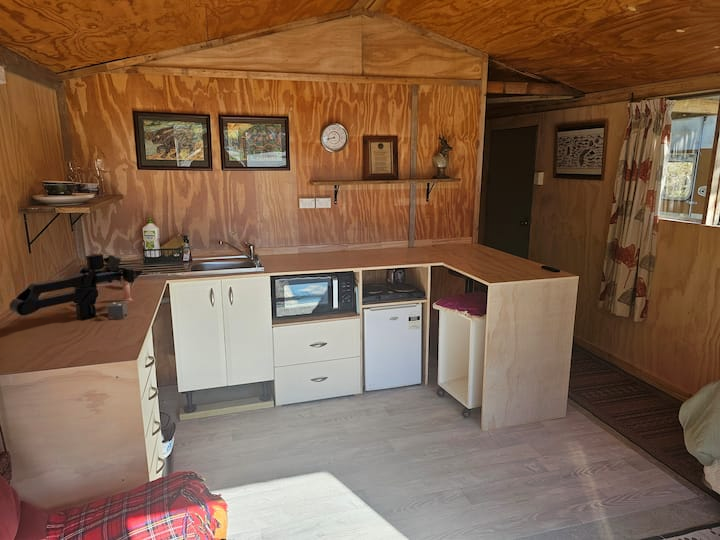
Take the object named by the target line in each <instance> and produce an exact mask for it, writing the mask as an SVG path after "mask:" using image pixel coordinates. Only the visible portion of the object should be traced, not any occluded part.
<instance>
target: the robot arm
mask: <svg viewBox="0 0 720 540" xmlns="http://www.w3.org/2000/svg"><path fill="white" fill-rule="evenodd" d="M85 261H86V267H85V266H84V267H83V268H82V269H80V271H79V272H76V273H73V274H70V275H68V276H67V277H64V278H59V279H53V280H48V281H43V282H36V283H30V284H29V285H28V286H27V287H26V288H25V289H24V290H23V291H22V292H21V293H19V294H18V296H16V298H14V299H12V300H11V302H10V303H9V310H10V311H11V312H13V313H14V314H17V315H20V316H24V317H25V316H28V315H31V314H34V313H36V312H37V311H39V310H40V309H44V308H48V307H53V306H57V305H61V304H67V303H72V302H73V303H74V304H75V311H76V312H75V313H76V315H75V316H74V318H75V319H78V320H80V321H84V320H85V321H86V320H89V319H93V318H96V317H97V318H98V315H96V314H97V312H96V310H97V309H96V301H97V298H98V297H99V290H98V289H97V288H98V286H97V285H98V284H105V283H109V284H110V283H112V282H114V281H117V282H120V281H121V276H123V280H124V281H125V282H128V283H134V282H135V280H136V279H137V278H138V277H139V276H140V275H142V274H143V270H137V269H136V270H134V269H133V268H131V267H122V266H121V267H120V262H121V261H122V258H121V257H119V256H115V255H108V256H107V257H104V254H103V253H101V252H100V253H97V252H96V253H91V254H88V255H86V256H85ZM70 288H71V289H73V290H71V291H67V292H62V293H56V294H52V295H51V294H50V295H46V296H41V294H43V293H49V292H53V291H54V292H55V291H59V290H65V289H70ZM40 296H41V297H40Z"/></svg>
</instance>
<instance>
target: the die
mask: <svg viewBox="0 0 720 540" xmlns="http://www.w3.org/2000/svg"><path fill="white" fill-rule="evenodd" d="M106 309H107V317H108V321H112V320H114V321H117V320H124V319H126V318H127V316H128V314H127V312H128V310H127V302H125V301H124V302H120V301H117V302H110V303H109V304H108V305H107V308H106Z"/></svg>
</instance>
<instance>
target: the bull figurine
mask: <svg viewBox="0 0 720 540" xmlns="http://www.w3.org/2000/svg"><path fill="white" fill-rule="evenodd" d="M122 279H123V276H121V281H122ZM121 281H119V283H120V286H119V288H123V285H122V283H121ZM134 284H135V283H134V282H132V283H130V284H129V285H130V289H132V288H133V287H134Z"/></svg>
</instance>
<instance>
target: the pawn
mask: <svg viewBox="0 0 720 540" xmlns="http://www.w3.org/2000/svg"><path fill="white" fill-rule="evenodd" d="M121 283H122V293H123V295H122V296H123V298H122V301H124V302H125V301H129V302H131V300H132V301H133V299H132V296H131V288H130V287H131V285H129V284H130V283H128V282H125V281H124V280H123V279H122V281H121Z"/></svg>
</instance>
